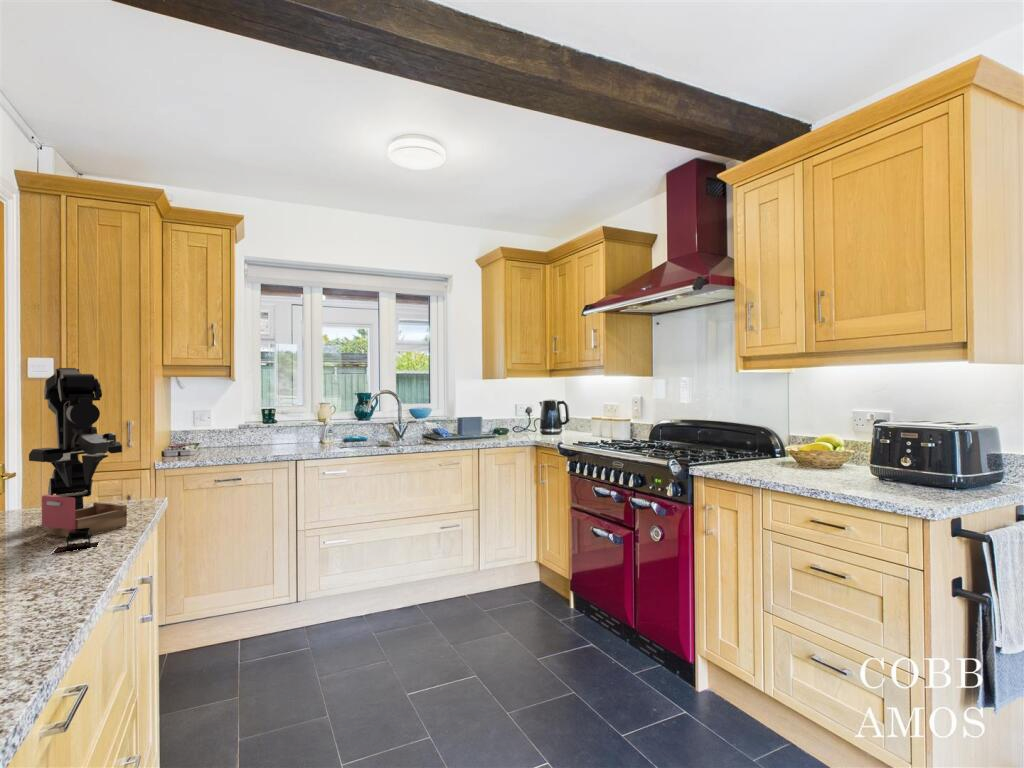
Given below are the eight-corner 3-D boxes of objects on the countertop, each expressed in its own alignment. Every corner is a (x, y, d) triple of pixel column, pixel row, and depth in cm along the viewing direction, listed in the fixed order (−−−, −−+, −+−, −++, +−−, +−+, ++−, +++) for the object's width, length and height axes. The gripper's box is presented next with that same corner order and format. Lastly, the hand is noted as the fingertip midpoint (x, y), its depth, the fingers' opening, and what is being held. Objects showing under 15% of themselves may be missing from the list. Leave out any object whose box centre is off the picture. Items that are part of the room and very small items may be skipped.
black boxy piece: (41, 558, 120) (41, 537, 120) (47, 549, 126) (48, 529, 126) (111, 549, 126) (111, 530, 126) (114, 541, 133) (114, 522, 132)
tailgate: (75, 528, 132) (75, 497, 132) (66, 530, 131) (66, 499, 130) (47, 524, 136) (47, 494, 135) (38, 526, 134) (38, 496, 134)
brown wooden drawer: (47, 534, 136) (47, 512, 136) (97, 522, 147) (97, 501, 147) (78, 538, 133) (78, 516, 133) (126, 525, 144) (126, 505, 144)
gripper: (59, 427, 126) (59, 495, 126) (137, 421, 144) (137, 480, 144) (27, 426, 130) (27, 491, 130) (107, 420, 147) (107, 477, 147)
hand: (78, 485), depth 138 cm, fingers open, 4 cm apart
